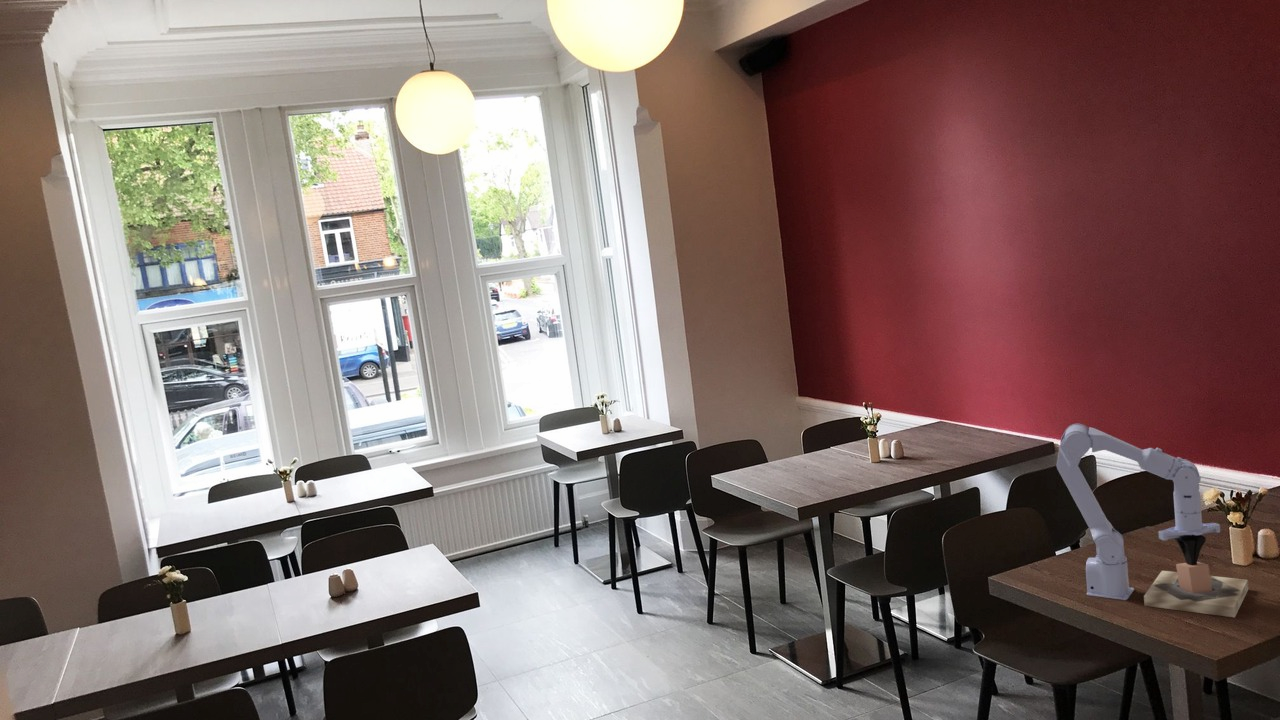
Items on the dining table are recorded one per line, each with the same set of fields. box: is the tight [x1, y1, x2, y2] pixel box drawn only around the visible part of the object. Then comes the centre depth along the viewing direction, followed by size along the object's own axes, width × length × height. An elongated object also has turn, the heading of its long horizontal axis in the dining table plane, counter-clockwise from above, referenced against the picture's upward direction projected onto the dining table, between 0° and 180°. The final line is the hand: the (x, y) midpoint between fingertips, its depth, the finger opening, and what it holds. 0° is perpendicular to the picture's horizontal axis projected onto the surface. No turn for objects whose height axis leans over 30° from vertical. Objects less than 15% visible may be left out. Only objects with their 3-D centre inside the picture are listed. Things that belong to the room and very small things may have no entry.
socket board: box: [1143, 570, 1249, 618], centre depth 234 cm, size 19×19×2 cm
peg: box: [1175, 561, 1212, 594], centre depth 235 cm, size 5×5×8 cm
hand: (1191, 564), depth 235 cm, fingers closed, pressing on peg
